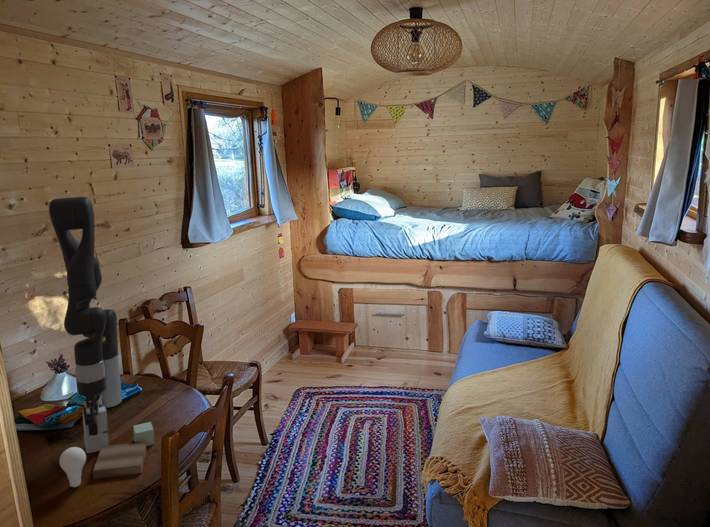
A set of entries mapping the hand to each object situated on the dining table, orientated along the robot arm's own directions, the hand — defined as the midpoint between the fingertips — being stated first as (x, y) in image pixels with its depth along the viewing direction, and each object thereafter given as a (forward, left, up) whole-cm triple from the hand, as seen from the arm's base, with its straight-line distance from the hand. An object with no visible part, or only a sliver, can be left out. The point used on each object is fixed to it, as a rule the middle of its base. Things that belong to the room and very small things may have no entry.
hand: (95, 429), depth 157 cm
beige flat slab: (+10, +8, -6) cm, 14 cm away
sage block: (0, +13, -6) cm, 14 cm away
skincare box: (0, 0, -6) cm, 6 cm away
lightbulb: (+18, -2, -6) cm, 19 cm away
